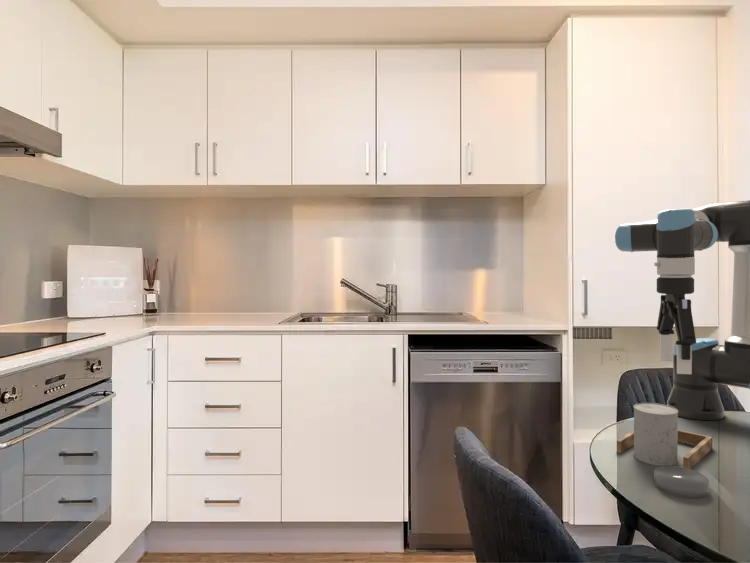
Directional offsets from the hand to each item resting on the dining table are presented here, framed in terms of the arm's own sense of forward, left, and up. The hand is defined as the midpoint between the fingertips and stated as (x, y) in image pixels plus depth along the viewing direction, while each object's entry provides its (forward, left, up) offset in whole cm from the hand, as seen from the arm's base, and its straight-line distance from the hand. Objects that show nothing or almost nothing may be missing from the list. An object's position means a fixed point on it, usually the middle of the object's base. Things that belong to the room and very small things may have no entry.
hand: (674, 367), depth 118 cm
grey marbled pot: (-2, -5, -24) cm, 24 cm away
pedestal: (+11, +5, -24) cm, 26 cm away
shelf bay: (-9, -5, -24) cm, 25 cm away
